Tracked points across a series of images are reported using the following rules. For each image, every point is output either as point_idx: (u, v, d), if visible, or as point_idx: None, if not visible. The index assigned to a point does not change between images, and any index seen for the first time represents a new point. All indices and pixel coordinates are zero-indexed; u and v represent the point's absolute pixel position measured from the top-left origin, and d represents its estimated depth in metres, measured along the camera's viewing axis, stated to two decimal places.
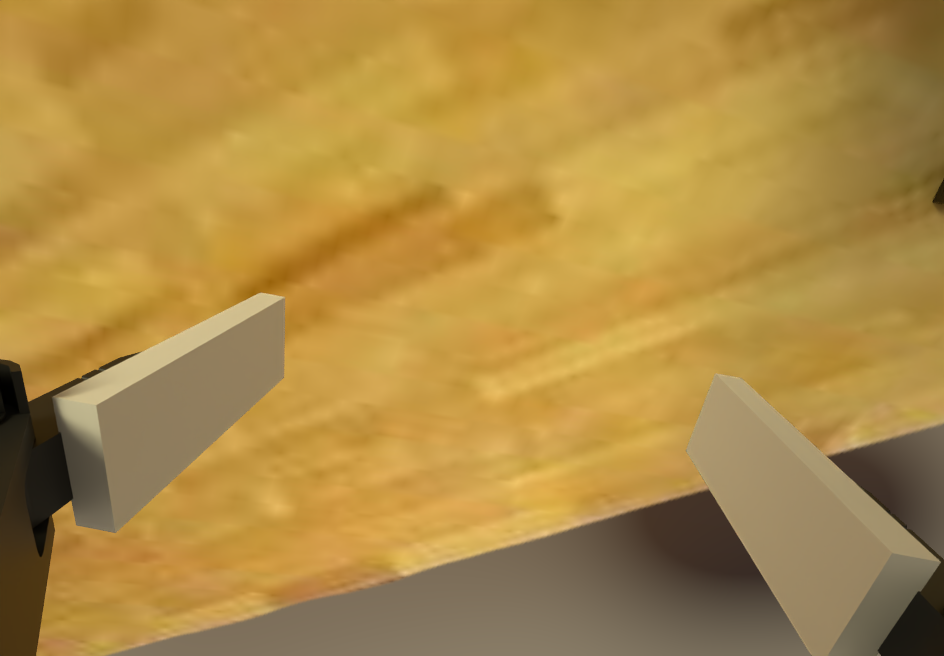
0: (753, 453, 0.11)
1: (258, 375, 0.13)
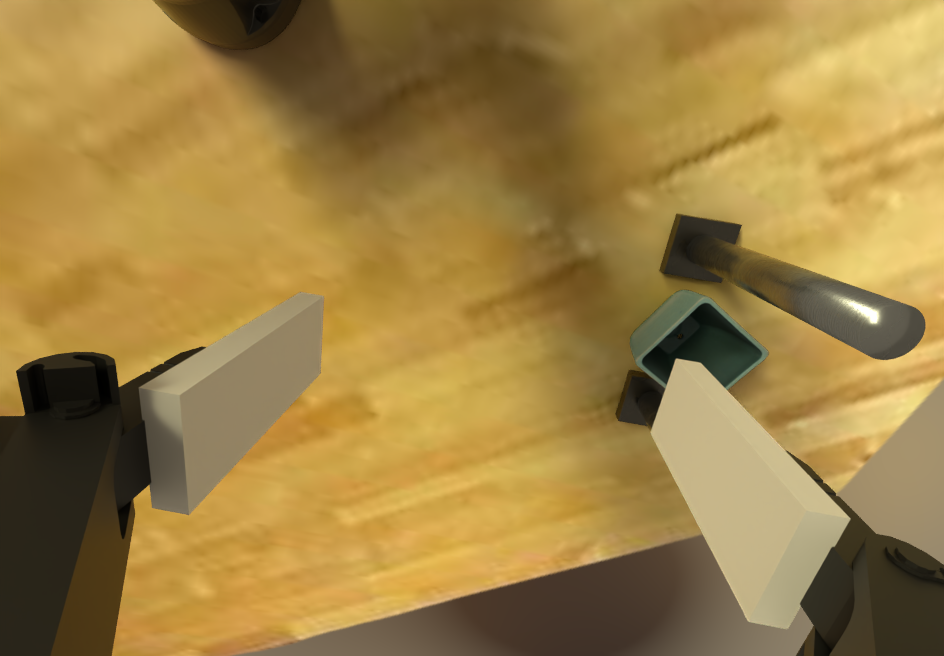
0: (702, 431, 0.11)
1: (300, 370, 0.13)
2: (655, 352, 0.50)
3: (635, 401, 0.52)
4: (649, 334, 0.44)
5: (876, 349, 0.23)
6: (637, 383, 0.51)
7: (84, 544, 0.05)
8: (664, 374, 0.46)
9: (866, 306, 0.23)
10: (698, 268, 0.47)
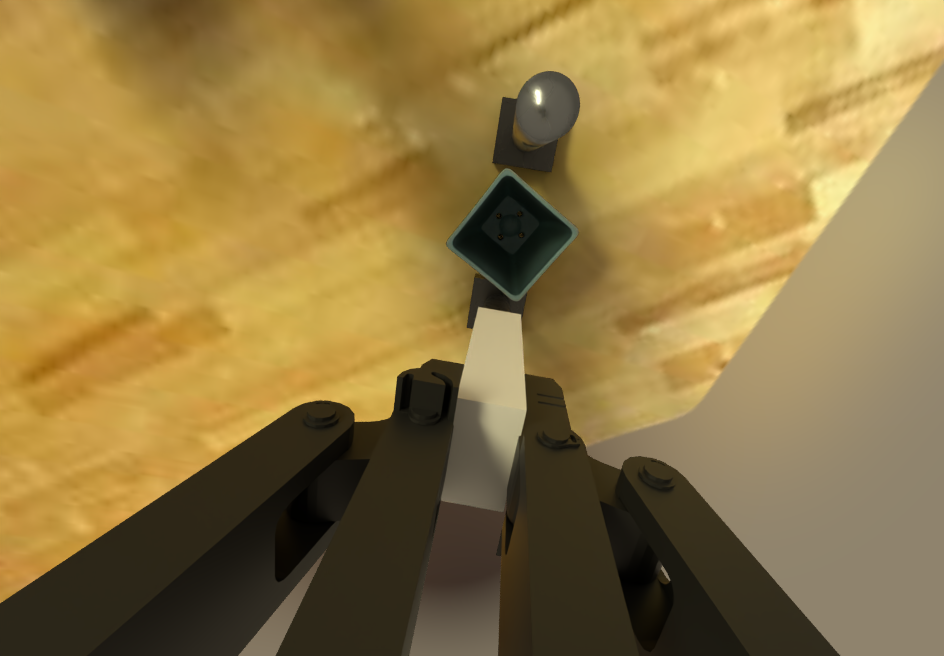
0: None
1: None
2: (494, 250, 0.48)
3: (481, 305, 0.51)
4: None
5: (536, 128, 0.22)
6: (480, 286, 0.50)
7: None
8: (491, 266, 0.45)
9: None
10: (526, 156, 0.45)
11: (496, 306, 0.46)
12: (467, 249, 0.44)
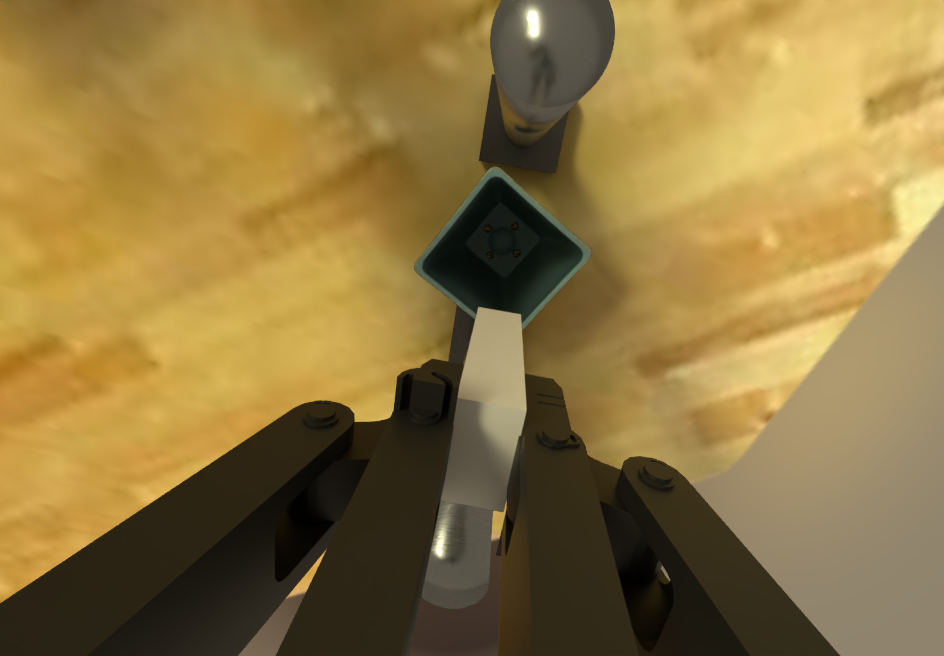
0: None
1: None
2: (482, 272, 0.38)
3: (465, 341, 0.40)
4: None
5: (530, 82, 0.11)
6: (464, 316, 0.40)
7: None
8: (476, 294, 0.34)
9: None
10: (523, 152, 0.35)
11: None
12: (444, 273, 0.33)
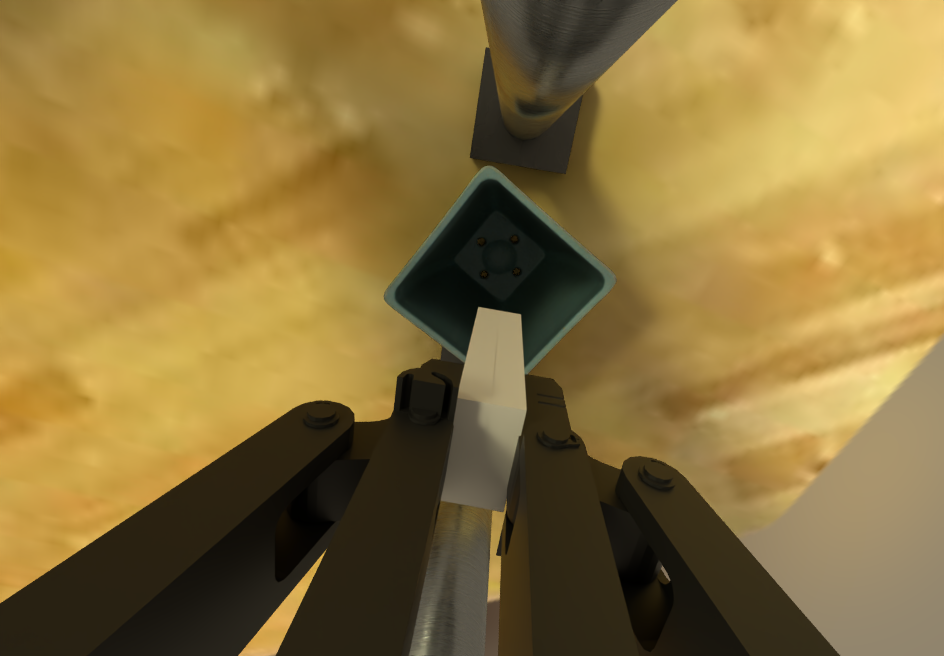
0: None
1: None
2: (474, 296, 0.31)
3: None
4: None
5: None
6: None
7: None
8: (466, 327, 0.27)
9: None
10: (525, 148, 0.27)
11: None
12: (425, 301, 0.26)
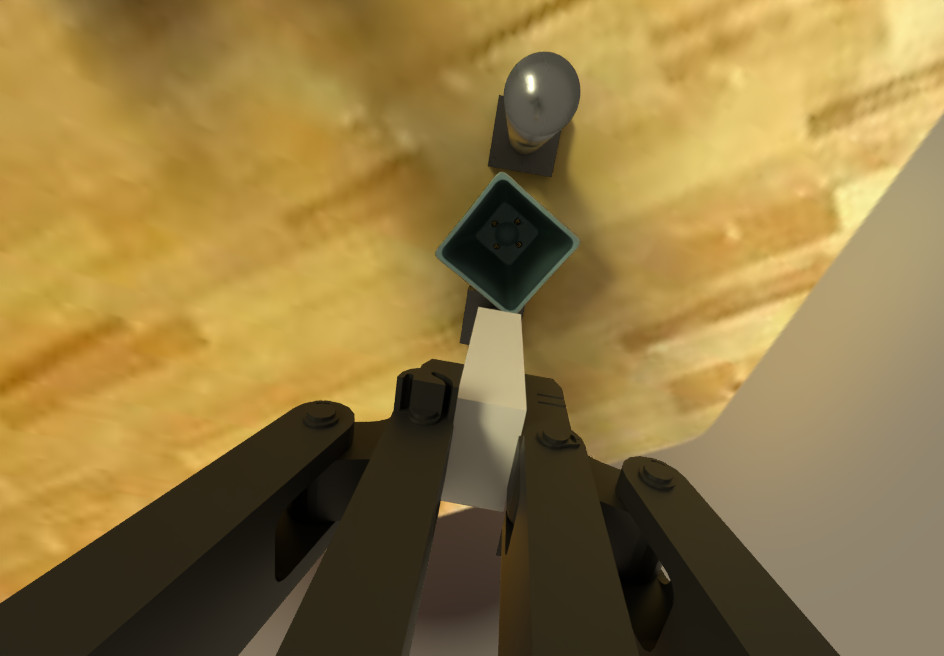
0: None
1: None
2: (490, 261, 0.45)
3: None
4: None
5: (528, 121, 0.18)
6: (474, 298, 0.46)
7: None
8: (485, 278, 0.41)
9: None
10: (524, 159, 0.41)
11: None
12: (459, 259, 0.40)
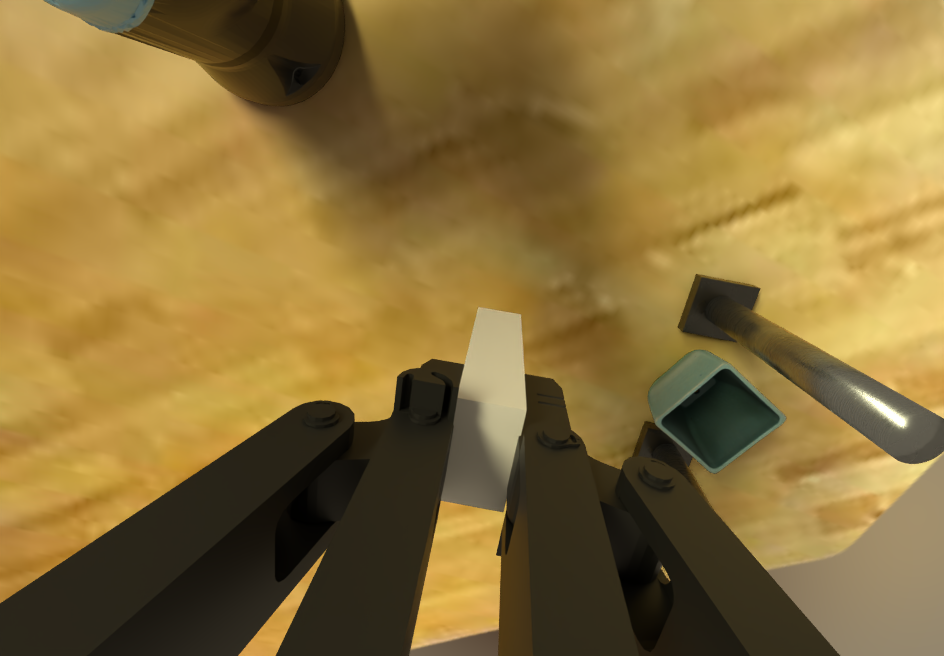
0: None
1: None
2: None
3: (650, 452, 0.53)
4: (668, 394, 0.45)
5: (904, 454, 0.24)
6: (653, 435, 0.52)
7: None
8: (681, 431, 0.47)
9: (894, 411, 0.24)
10: (716, 328, 0.48)
11: (680, 466, 0.48)
12: (664, 418, 0.46)
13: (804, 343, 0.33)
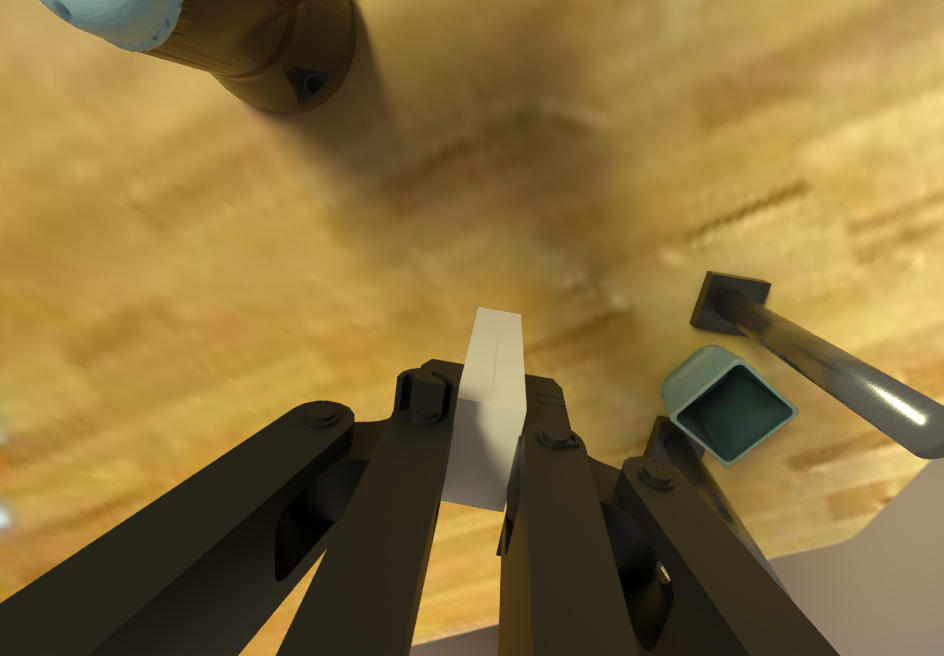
0: None
1: None
2: None
3: (663, 446, 0.54)
4: (682, 389, 0.46)
5: (923, 450, 0.25)
6: (666, 429, 0.53)
7: None
8: (695, 425, 0.48)
9: (913, 409, 0.25)
10: (728, 323, 0.48)
11: (694, 459, 0.49)
12: (678, 414, 0.47)
13: (819, 340, 0.34)
